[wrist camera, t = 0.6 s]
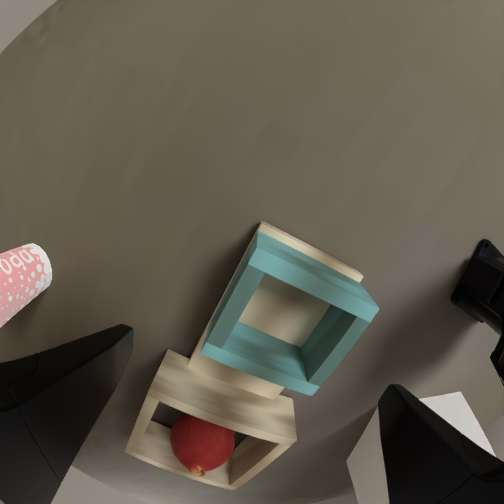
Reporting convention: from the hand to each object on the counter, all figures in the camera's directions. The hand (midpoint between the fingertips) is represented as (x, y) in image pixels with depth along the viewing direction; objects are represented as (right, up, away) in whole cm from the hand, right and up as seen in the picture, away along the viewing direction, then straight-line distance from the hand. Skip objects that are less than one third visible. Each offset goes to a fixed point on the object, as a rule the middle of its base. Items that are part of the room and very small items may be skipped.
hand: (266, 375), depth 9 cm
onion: (-5, -12, +17) cm, 21 cm away
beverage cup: (-21, +3, +13) cm, 25 cm away
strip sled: (-2, -6, +14) cm, 16 cm away
